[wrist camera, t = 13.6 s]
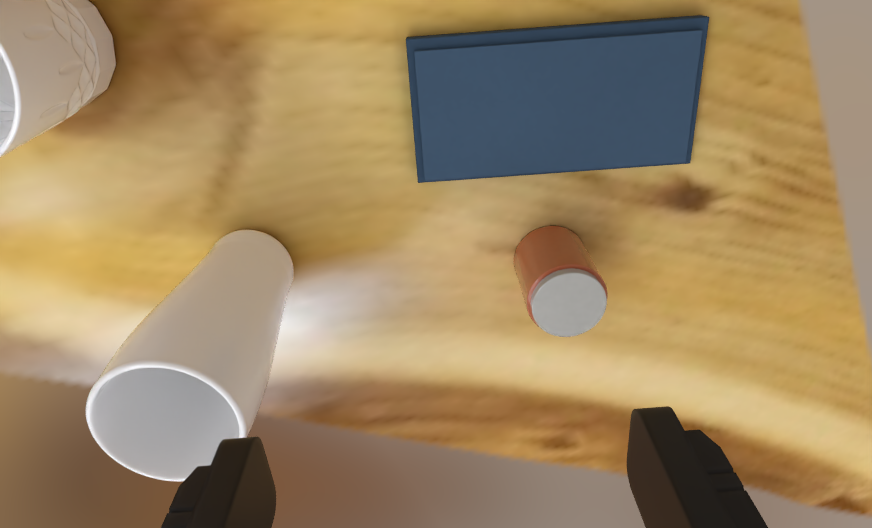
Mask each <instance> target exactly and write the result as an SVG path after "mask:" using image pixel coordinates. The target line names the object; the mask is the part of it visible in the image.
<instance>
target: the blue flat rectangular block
mask: <svg viewBox="0 0 872 528" xmlns="http://www.w3.org/2000/svg"><path fill="white" fill-rule="evenodd" d="M708 23H709V17H707V16H703V15H697V16H684V17H670V18H657V19H643V20H630V21H616V22H603V23H590V24H576V25H563V26H549V27H536V28H522V29H509V30H495V31H482V32H469V33H455V34H442V35H428V36H415V37H407V38H406V47H407V58H408V70H409V82H410V94H411V105H412V117H413V129H414V141H415V152H416V164H417V176H418V183H422V182H436V181H450V180H464V179H478V178H492V177H505V176H519V175H533V174H547V173H561V172H575V171H589V170H603V169H617V168H631V167H645V166H659V165H673V164H687V163H690V161H691V153H692V145H693V138H694V130H695V122H696V115H697V107H698V99H699V92H700V84H701V76H702V69H703V61H704V53H705V46H706V38H707V30H708Z"/></svg>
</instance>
